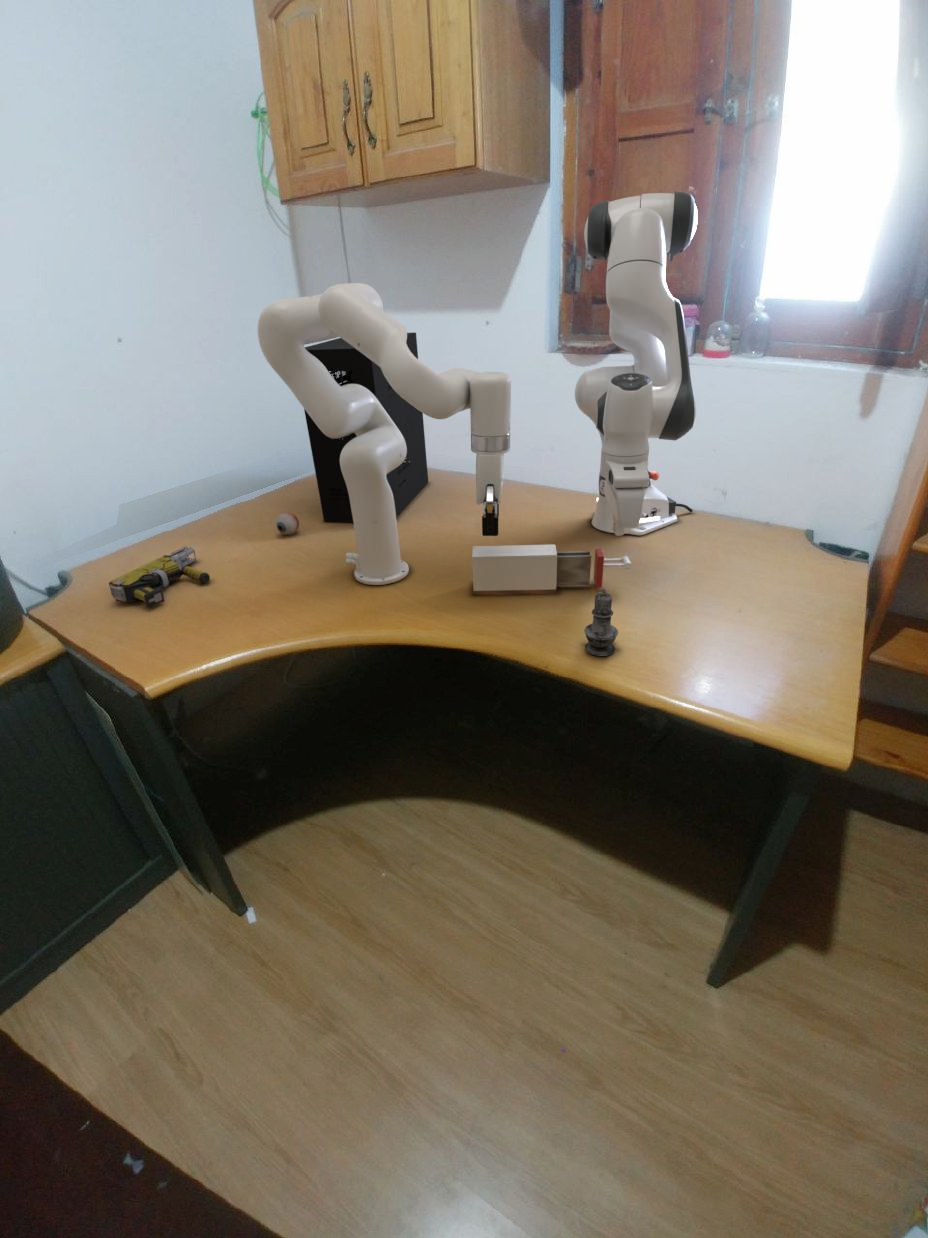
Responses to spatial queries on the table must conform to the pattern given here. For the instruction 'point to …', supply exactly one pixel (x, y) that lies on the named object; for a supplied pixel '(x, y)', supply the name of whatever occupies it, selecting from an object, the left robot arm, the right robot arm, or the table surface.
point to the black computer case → (328, 450)
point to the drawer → (584, 567)
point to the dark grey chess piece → (601, 627)
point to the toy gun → (155, 578)
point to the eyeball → (287, 523)
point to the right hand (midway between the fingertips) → (618, 532)
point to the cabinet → (514, 569)
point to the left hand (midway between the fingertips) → (490, 526)
